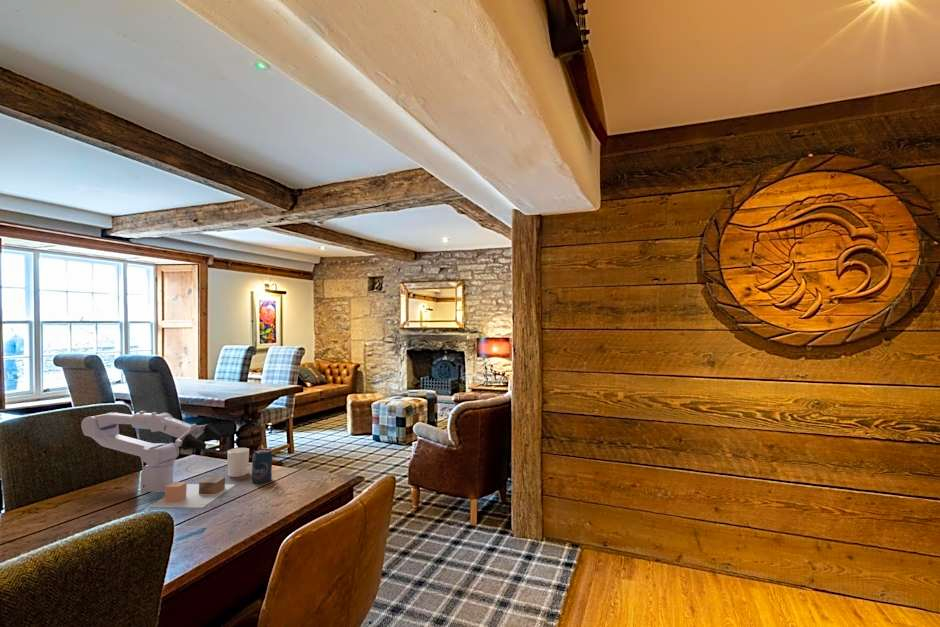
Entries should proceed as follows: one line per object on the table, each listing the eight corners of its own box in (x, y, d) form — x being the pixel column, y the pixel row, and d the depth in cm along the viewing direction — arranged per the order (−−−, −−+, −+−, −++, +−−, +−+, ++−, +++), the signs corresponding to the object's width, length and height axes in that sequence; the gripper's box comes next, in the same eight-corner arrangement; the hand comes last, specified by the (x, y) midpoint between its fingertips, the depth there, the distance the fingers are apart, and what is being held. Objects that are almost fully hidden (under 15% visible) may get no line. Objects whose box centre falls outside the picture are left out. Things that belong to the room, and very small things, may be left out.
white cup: (252, 472, 185) (253, 448, 185) (240, 479, 177) (241, 453, 177) (234, 471, 186) (235, 447, 186) (222, 478, 178) (222, 452, 178)
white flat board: (146, 508, 147) (146, 506, 147) (186, 485, 169) (186, 483, 169) (202, 509, 147) (202, 507, 147) (235, 485, 169) (235, 484, 169)
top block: (164, 501, 152) (165, 486, 152) (173, 496, 156) (173, 482, 156) (178, 501, 152) (178, 486, 152) (186, 496, 156) (186, 482, 157)
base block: (198, 493, 159) (199, 482, 159) (208, 487, 165) (208, 476, 165) (215, 494, 159) (216, 482, 160) (224, 488, 165) (225, 477, 166)
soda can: (249, 486, 169) (251, 453, 170) (253, 480, 176) (254, 449, 176) (269, 484, 171) (270, 452, 172) (272, 478, 178) (273, 448, 178)
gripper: (165, 428, 157) (199, 441, 155) (198, 413, 171) (229, 424, 169) (163, 446, 158) (196, 459, 156) (195, 429, 172) (226, 441, 170)
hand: (213, 442), depth 163 cm, fingers open, 7 cm apart
